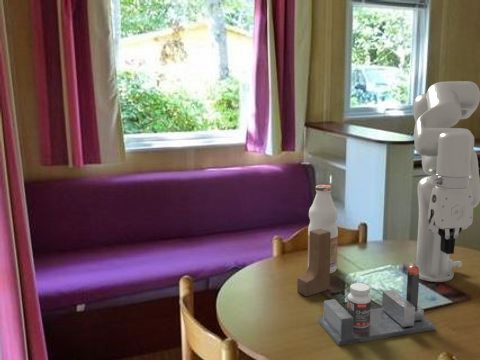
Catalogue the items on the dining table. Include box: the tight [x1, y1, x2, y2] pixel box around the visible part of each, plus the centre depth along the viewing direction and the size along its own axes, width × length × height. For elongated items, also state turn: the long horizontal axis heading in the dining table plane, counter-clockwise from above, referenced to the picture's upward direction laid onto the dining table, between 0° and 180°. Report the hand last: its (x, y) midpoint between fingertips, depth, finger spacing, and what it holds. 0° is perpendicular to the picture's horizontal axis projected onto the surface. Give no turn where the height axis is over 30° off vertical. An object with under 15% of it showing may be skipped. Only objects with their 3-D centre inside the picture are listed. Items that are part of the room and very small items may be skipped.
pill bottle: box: [346, 282, 372, 328], centre depth 121 cm, size 6×6×10 cm
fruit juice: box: [307, 184, 339, 275], centre depth 157 cm, size 9×9×28 cm
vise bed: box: [317, 298, 436, 347], centre depth 123 cm, size 26×12×6 cm, turn 104°
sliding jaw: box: [381, 264, 425, 327], centre depth 124 cm, size 7×10×14 cm
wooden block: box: [296, 228, 331, 297], centre depth 142 cm, size 9×4×18 cm, turn 122°
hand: (446, 252), depth 124 cm, fingers closed
